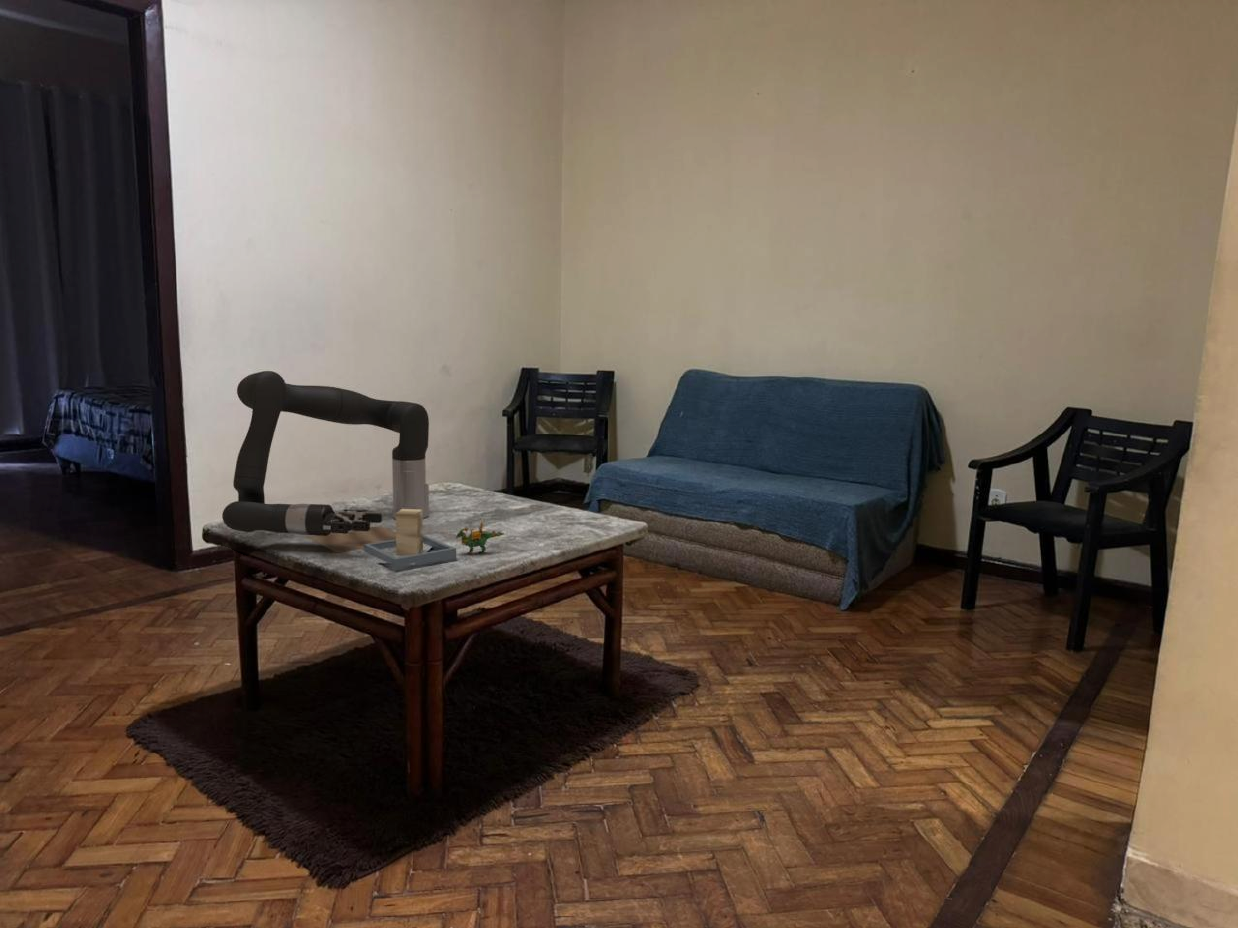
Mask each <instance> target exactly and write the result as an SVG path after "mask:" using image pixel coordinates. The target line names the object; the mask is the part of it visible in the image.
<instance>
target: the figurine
mask: <svg viewBox="0 0 1238 928" xmlns="http://www.w3.org/2000/svg"><path fill="white" fill-rule="evenodd" d="M483 525H484V521H480V526H479V527H478V530H476V531H474V529H473V528H470V530H469V528H468V527H467V526H466V527H464V528H463V529H459V532H458V533H457V535H456V536H455V539H458V538H461V542H460V543H459V544H460V545H461V546H465V547H469V551H468V552H466V554H467V555H468V556H470V555H472V553H473V551H474V548H477V547H479V548H481V551H478V553H479V555H485V554H486V549H487V547H486V546H485V544H486V543H487V541H488V539H491V538H492V539H493V538H495V537H501V536H503V535H505V533H503V532H501V531H497V532H496V531H495V530H492V532H491V531H489V530H487V531H486V530H483ZM468 530H469V531H470V534H469V535H468V536H467V534H466V533H467V532H468ZM464 531H465V532H464Z"/></svg>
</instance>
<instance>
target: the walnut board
mask: <svg viewBox="0 0 1238 928" xmlns="http://www.w3.org/2000/svg"><path fill="white" fill-rule="evenodd" d="M307 538H308V539H310V540H312V541H313V542H315V543H317V544H319V545H321V546H323V547H325V548H327V549H329V550H330V551H332V552H334V553H343V552H350V551H355V550H356V551H357V550H361V549H364V544H370V543H376V542H382V541H388V540H394V539H396V531H393V530H390V529H388V528H385V527H383V526H382V525H379V526H370V530H369V531H354V530H353V532H348V533H346V534H342V533H330V534H329V535H327V536H318V535H309V536H307Z"/></svg>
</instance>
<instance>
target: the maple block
mask: <svg viewBox="0 0 1238 928" xmlns="http://www.w3.org/2000/svg"><path fill="white" fill-rule="evenodd" d="M423 520H424V518H423V510H419V509H401V510H400V511H398V512H397V513H396V519H395V533H396V547H395V548H396V549H395V550H396V551H395V553H396V554H395V555H396V556H409V555H415V554H421V553H423V551H424V543H423V535H424V525H423V523H424V521H423Z"/></svg>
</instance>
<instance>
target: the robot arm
mask: <svg viewBox="0 0 1238 928" xmlns="http://www.w3.org/2000/svg"><path fill="white" fill-rule="evenodd" d="M236 394H237V397H238V400H239V401H240V402H241V403H242V404H243V405H244V406H246V407H247V408H249V409H251V410H252V412H251V413H252V414H251V418H250V419H251V420H250V423H249V425H248V426H249V427H248V429H247V433H246V434H245V437H244V440H243V441H242V444H241V446H240V449H239V452H238V454H237V458H236V464H235V470H234V476H233V485H232V486H233V489H234V490H235V491H237V494H238V495H237V499H238V500H237V501H233V502H230V503H229V504H228V505H227V506H225V508H224V509H223V511H222V513H221V514H222V517H221V518H222V521H223V522H224V525H225V526H226V527H227V528H229V529H231V530H234V531H239V532H245V533H253V532H255V531H266V532H271V533H278V534H279V533H280V534H294V535H297V536H298V535H299V536H302V535H303V536H317V535H318V536H327V535H329V534H330V533H342V534H346V533H348V532H353V530H354V531H369V530H370V527H371V524H373V523H374V524H381V523H382V522H383V514H382V513H380V512H379V513H378V512H377V513H376V512H368V510H367V509H345V508H344V509H343V510H339V511H338V512H335V511H334V510H333V507H332V506H331V505H330V504H322V503H321V504H318V503H316V504H315V503H295V504H293V503H292V504H291V503H266V502H265V499H266V498H265V488H264V487H265V482H266V475H267V472H268V471H267V470H268V463H269V456H270V453H271V447H272V443H273V439H274V435H275V432H276V428H277V425H278V421H279V418H280V415H281V412H285V413H290V414H291V413H292V414H296V415H300V416H304V417H308V418H312V419H316V420H320V421H321V420H322V421H325V422H331V423H337V424H343V425H354V426H355V425H357V426H358V425H360V426H362V425H368V426H374V427H379V428H382V429H385V430H388V431H392V432H394V433H397V434H399V437H398V439H399V441H398V445H397V446H395V447H394V448H393V449H392V451H391V458H392V459H391V461H392V463H391V466H392V467H391V468H392V469H391V470H392V514H393V515H392V518H393V519H394V520H396V513H397V512H398V511H400V510H401V509H419V510H423V519H426V518H428V517H430V504H429V503H430V498H429V497H430V496H429V495H430V494H429V493H430V491H429V490H430V487H429V484H428V483H427V482H426V481H427V480H426V479H427V477H426V473H427V472H426V470H427V469H426V453H427V450H428V447H429V435H430V434H429V432H430V430H429V429H430V421H429V420H430V419H429V418H430V417H429V414H428V411H427V409H426V408H425V406H424V405H421V404H419V403H416V402H411V401H401V400H400V401H397V400H396V401H395V400H385V399H384V400H382V399H376V398H372V397H369V396H367V395H365V394H362V393H359V392H357V391H354V390H350V389H346V388H340V387H335V386H329V385H299V384H291V383H286V381H285V379H284V378H283V377H282V376H281V374H279V373H277V371H276V372H275V371H272V370H264V371H259V372H255V373H252V374H248V375H247V376H245V377H243V378H242V379H241V380H240V382H239V383H238V385H237V387H236ZM359 516H362V517H359Z"/></svg>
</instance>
